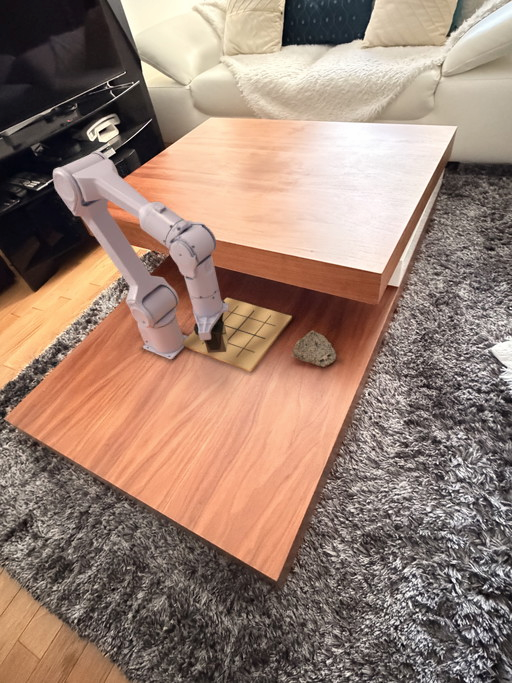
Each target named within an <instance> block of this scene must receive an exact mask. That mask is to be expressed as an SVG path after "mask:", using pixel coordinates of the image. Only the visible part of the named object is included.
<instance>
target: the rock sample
mask: <svg viewBox="0 0 512 683" xmlns="http://www.w3.org/2000/svg"><path fill="white" fill-rule="evenodd" d="M332 346H333V345H332V343H331V342H329V340H328V339H327V338H326V336H324V335H322V334H321V333H318V332H317V331H315V330H310V332H308V333H306V334H305V335H304V336H303V337H302V338H299V339H298V340H297V341H296V343H295V344H294V346H293V349H292V351H291V357H293V358H294V357H295V358H297V359H298V360H299V361H302V362H305V363H311V364H312V366H314V365H315V366H319V367H323V368H325V367H327V366H329V365H331V364H333V363H334V362H335V361H336V358H337V355H338V354H337V352H336V350H335V349H334V347H332Z"/></svg>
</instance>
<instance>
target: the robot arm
mask: <svg viewBox="0 0 512 683" xmlns="http://www.w3.org/2000/svg"><path fill="white" fill-rule="evenodd" d="M52 180H53V184H54V185H53V186H54V189H55V192H57V194H58V195H59V197H60V198H61V199H62V201H63V202H64V204H65V206H67V209H69V211H70V212H71V213H72V215H73V216H74V217H80V218H81V219H82V220H83V221H84V223H85V224H86V226H87V227H88V228H89V230H90V232H91V234H93V236H94V237H95V239H96V241H97V242H98V243H99V244H100V246H101V248H102V249H103V250H104V251H105V253H106V255H107V256H108V258H109V259H110V260H111V262H112V263H113V265H114V266H115V268H116V269H117V270H118V272H119V274H120V275H121V277H122V278H123V279H124V281H125V282H126V283H127V285H128V286H129V289H128V293H127V295H126V299H125V303H126V305H127V306H128V308H129V310H130V312H131V316H132V317H133V319H134V321H136V323H137V328H138V331H139V333H140V335H141V339H142V340H143V342H144V344H143V346H142V348H143V349H144V350H146V351H148V352H151V353H153V354H156V355H157V356H161V357H163V358H166V359H168V360H173V359H174V358H175V357H177V355H178V354H179V353H180V352H182V350H183V349H184V348H186V347H185V346H184V345H183V342H184V340H185V339H186V338H187V337H188V336H189V335H186V334H183V333H182V330H181V327H180V324H179V321H178V318H177V315H176V313H177V312H178V308H177V306H178V305H179V304H180V298H179V295H178V292H177V291H176V290H175V289H174V287H173V286H171V285H170V284H169V283H168V282H167V281H166V279H165V278H164V277H162V276H157V275H151V273H150V271H149V270H148V269H147V267H146V266H145V264H144V263H143V261H142V259H141V258H140V256H139V255H138V253H137V252H136V251H135V249H134V247H133V246H132V244H131V243H130V242H129V240H128V239H127V237H126V236H125V234H124V233H123V231H122V230H121V227H120V226H119V225H118V224H117V221H115V220H116V219H115V218H114V217H113V216H112V214H111V213H110V211H109V210H108V204H109V203H108V202H111V203H113V204H114V205H116V206H117V207H118V208H121V209H122V210H123V211H125V212H127V213H128V214H130V215H132V216H134V217H135V218H137V219H138V220H139V221H138V222H139V227H140V228H141V230H143V231H144V232H145V233H146V234H148V235H149V236H150V237H152V238H153V239H155V240H156V241H157V242H158V243H160V244H161V245H162V246H164V247H165V248H167V249H168V253H169V255H170V257H171V258H172V260H173V261H174V263H175V264H176V265H177V267H178V270H179V273H180V274H181V275H182V276H183V277H184V281H185V285H186V288H187V292H188V295H189V298H190V303H191V305H192V313H193V316H194V319H195V322H196V323H194V327H193V331H195V334H196V335H198V336H199V337H200V340H204V341H205V343H206V344H207V345H208V347H209V348H210V350H220V347H221V336H220V335H221V332H222V329H223V324H215V323H216V322H223V314H224V312H228V310H229V304H228V303H225V302H224V300H222V296H221V291H220V287H219V282H218V278H217V274H216V273H217V272H216V268H215V263H214V258H213V252H214V251H216V249H217V239H216V236H215V234H214V233H213V231H212V230H211V229H210V228H209V227H208V226H207V225H206V224H205V223H204V222H200V221H193V220H185V219H184V218H183V217H181V216H180V215H179V214H177V213H176V212H175V211H173V210H172V209H170V208H169V207H168V206H167V205H165V204H164V203H163V202H161V201H153V202H150V201H149V200H148V199H147V198H145V197H144V196H143V195H142V194H141V193H140V192H139V191H138V190H136V189H135V188H134V187H133V186H132V185H130V183H128V182H127V181H126V180H125V179H124V178H122V177H121V176H120V175H119V173H118V169H117V168H116V165H115V164H114V162H113V160H112V159H109V158H108V157H107V155H105V154H104V153H102V152H101V151H99V150H95V151H92V152H91V153H90V154H88V155H85V156H83V157H81V158H79V159H76V160H73V161H72V162H70V163H67V164H65V165H63V166H60V167H59V166H57V167H56V168H54V169H53V171H52Z"/></svg>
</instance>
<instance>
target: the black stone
mask: <svg viewBox="0 0 512 683" xmlns="http://www.w3.org/2000/svg"><path fill="white" fill-rule="evenodd" d="M215 324H223V329H222V332H221V335H220V336H221V347H220V350H210V348H209V347H208V345H207V344H206V343H205V345H206V348H207V352H208V353H216V352H226V350H227V342H228V338H227V333H226V328H225V324H224V322H216V323H215Z"/></svg>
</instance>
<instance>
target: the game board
mask: <svg viewBox="0 0 512 683" xmlns="http://www.w3.org/2000/svg"><path fill="white" fill-rule="evenodd" d="M223 301H224V302H225V303H228V304H229V310H228V312H224V314H223V322H224V324H225V328H226V333H227V338H228V342H227V350H226V352H216V353H208V352H207V348H206V345H205V341H204V340H200V337H199V336H198V335H196V334H195V331H194V330H193V331H192V332H191V333H190V334H189V335H187V336H188V337H187V338H186V339H185V340H184V342H183V345H184V346H185V347H184V348H186V349H188V350H191V351H195V352H197V353H200V354H202V355H205V356H208V357H210V358H213V359H215V360H218V361H221V362H224V363H226V364H229V365H231V366H234V367H236V368H239V369H241V370H244V371H246V372H249V373H252V371H253V370H254V369H255V367H256V366H257V365H258V364H259V362H260V361H261V360H262V359H263V357H264V356H265V354H266V353H268V351H269V350H270V348H271V347H272V346H273V344H274V343H275V342H276V340H277V339H278V337H280V335H281V334H282V333H283V331H284V330H285V329H286V327H287V326H288V324H289V323H290V322H291V321H292V319H293V316H292V315H290V314H287V313H283V312H280V311H275V310H273V309H268V308H265V307H262V306H258V305H254V304H251V303H248V302H245V301H241V300H238V299H234V298H230V297H226V298H225V299H224V300H223Z"/></svg>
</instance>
